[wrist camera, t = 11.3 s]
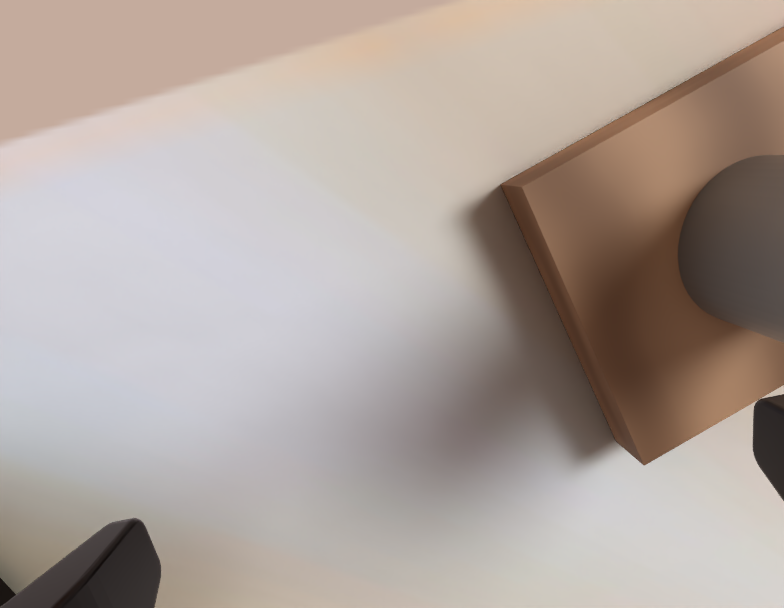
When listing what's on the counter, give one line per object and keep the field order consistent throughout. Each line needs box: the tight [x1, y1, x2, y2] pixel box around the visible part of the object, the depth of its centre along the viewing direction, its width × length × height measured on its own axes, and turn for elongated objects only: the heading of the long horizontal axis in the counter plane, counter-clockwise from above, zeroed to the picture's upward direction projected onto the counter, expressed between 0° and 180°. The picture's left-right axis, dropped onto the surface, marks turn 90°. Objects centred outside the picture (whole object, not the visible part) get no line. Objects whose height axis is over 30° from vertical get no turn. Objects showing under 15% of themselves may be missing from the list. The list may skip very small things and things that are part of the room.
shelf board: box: [501, 27, 784, 465], centre depth 21 cm, size 14×12×2 cm
